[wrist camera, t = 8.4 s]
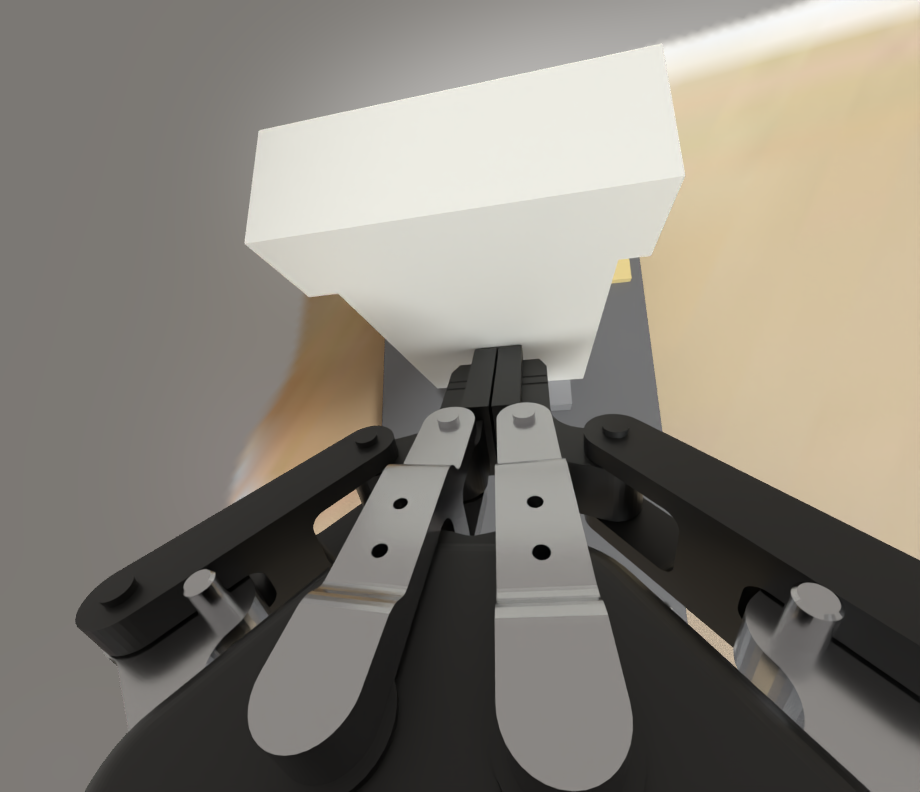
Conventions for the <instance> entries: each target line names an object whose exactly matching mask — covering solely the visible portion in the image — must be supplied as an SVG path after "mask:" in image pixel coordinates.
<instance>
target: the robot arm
mask: <svg viewBox="0 0 920 792" xmlns="http://www.w3.org/2000/svg"><path fill="white" fill-rule="evenodd" d="M491 475H495V510H496V531H494V532H489V533H485V534H481V529H482V524H483V520H484V515H485V510H486V505H487V500H488V492H487V485H488V478H489V476H491ZM355 489H356V490H357V492H358V495H359V497H360V500H361V502H362V504H360V505H359V506H357V507H356V508H355V509H353V510H352V511H350V512H349V513H348V514H346V515H345V516H343V517H342V518H340V519H339V520H338V521H336V522H335V523H333V524H332V525H331V526H329V527H328V528H326V529H325V530H324V531H322V532H321V533H319V534H317V535H315V533H314V530H313V525H314V522H315V520H316V518H317V517H318V515H319V514H320V513H321V512H323V511H324V510H326V509H327V508H328V507H330V506H331V505H333V504H334V503H336V502H337V501H339V500H340V499H342V498H343V497H345V496H346V495H348V494H349V493H351V492H352V491H354V490H355ZM643 495H644V496H645V497H647V498H648V499H650V500H651V501H653V502H654V503H656V504H657V505H659V506H660V507H662V508H663V509H665V510H666V511H667V512H668V513H669V514H670V515H671V516H670V515H669V514H667V513H666V512H664V511H663V510H661V509H660V508H658V507H657V506H655V505H654V504H652V503H651V502H649V501H648V500H646V499H645V498H643ZM580 514H584V517H585V520H586V522H587V524H588V525H589V526H590V527H591V528H592V529H593V530H594V531H595V532H596V533H597V534H599V535H600V536H601V537H602V538H603V539H605V540H606V541H607V542H608V543H609V544H610V545H612V546H613V547H614V548H615V549H616V550H618V551H619V552H620V553H621V554H622V555H624V556H625V557H626V558H627V559H628V560H630V561H631V562H632V563H633V564H634V565H636V566H637V567H638V568H639V569H640V570H641V571H643V572H644V573H645V574H646V575H647V576H649V577H650V578H651V579H652V580H653V581H655V582H656V583H657V584H658V585H659V586H661V587H662V588H663V589H664V590H665V591H667V592H668V593H669V594H670V595H671V596H672V597H674V598H675V599H676V600H677V601H678V602H680V603H681V604H682V605H683V606H684V607H686V608H687V609H688V610H689V611H690V612H692V613H693V614H694V615H695V616H696V617H697V618H699V619H700V620H701V621H702V622H703V623H705V624H706V625H707V626H708V627H709V628H711V629H712V630H713V631H714V632H715V633H717V634H718V635H719V636H720V637H721V638H723V639H724V640H725V641H726V642H727V643H728V644H730V645H731V646H732V647H733V648H734V649H733V651H734V659H735V663H736V666H737V668H738V669H737V668H736V667H734V666H733V665H732V664H731V663H730V662H729V661H728V660H727V659H726V658H725V657H723V656H722V655H721V654H720V653H719V652H718V651H717V650H716V649H715V648H714V647H713V646H711V645H710V644H709V643H708V642H707V641H706V640H705V639H704V638H703V637H702V636H700V635H699V634H698V633H697V632H696V631H695V630H694V629H693V628H692V627H691V626H690V625H688V624H687V623H686V622H685V621H684V620H683V619H682V618H681V617H680V616H679V615H677V614H676V613H675V612H674V611H673V610H672V609H671V608H670V607H669V606H668V605H667V604H665V603H664V602H663V601H662V600H661V599H660V598H659V597H658V596H657V595H656V594H654V593H653V592H652V591H651V590H650V589H649V588H648V587H647V586H646V585H645V584H644V583H642V582H641V581H640V580H639V579H638V578H637V577H636V576H635V575H634V574H633V573H631V572H630V571H629V570H628V569H627V568H626V567H625V566H623V565H622V564H620V563H619V562H618V561H616V560H615V559H614V558H612V557H610V556H608V555H607V554H605V553H603V552H601V551H599V550H597V549H594V548H592V547H590V546H587V542H586V538H585V534H584V530H583V526H582V522H581V518H580ZM75 620H76V625H77V627H78V628H79V629H80V630H81V631H83V632H84V633H85V634H86V635H87V636H88V637H89V638H90V639H92V640H93V641H94V642H95V643H96V644H97V645H98V646H99V647H100V648H101V649H102V650H103V653H104V655H105V656H106V657H107V658H108V659H109V660H111V661H112V662H113V663H114V664H115V665H116V666H117V668H118V674H119V679H120V686H121V692H122V697H123V703H124V709H125V715H126V721H127V727H128V733H127V734H126V735H125V736H124V737H123V739H122V740H121V741H120V742H119V743H118V744H117V745H116V746H115V748H114V749H113V750H112V751H111V753H110V754H109V755H108V757H107V758H106V759H105V761H104V762H103V763H102V765H101V766H100V768H99V769H98V771H97V772H96V774H95V775H94V777H93V779H92V780H91V782H90V783H89V785H88V786H87V788H86V790H85V792H920V560H918V559H916V558H914V557H912V556H910V555H908V554H906V553H904V552H902V551H900V550H898V549H896V548H894V547H892V546H890V545H888V544H886V543H884V542H882V541H880V540H878V539H876V538H874V537H872V536H870V535H868V534H866V533H864V532H862V531H860V530H858V529H856V528H854V527H852V526H850V525H848V524H846V523H844V522H842V521H840V520H838V519H836V518H834V517H832V516H830V515H828V514H826V513H824V512H822V511H820V510H818V509H816V508H814V507H812V506H810V505H808V504H806V503H804V502H802V501H800V500H798V499H796V498H794V497H792V496H790V495H788V494H786V493H784V492H782V491H780V490H778V489H776V488H774V487H772V486H770V485H768V484H766V483H764V482H762V481H760V480H758V479H756V478H754V477H752V476H750V475H748V474H746V473H744V472H742V471H740V470H738V469H736V468H734V467H732V466H730V465H728V464H726V463H724V462H722V461H720V460H718V459H716V458H714V457H712V456H710V455H708V454H706V453H704V452H702V451H700V450H698V449H696V448H694V447H692V446H690V445H688V444H686V443H684V442H682V441H680V440H678V439H676V438H674V437H672V436H670V435H668V434H666V433H664V432H662V431H660V430H658V429H656V428H654V427H652V426H650V425H648V424H646V423H644V422H642V421H640V420H638V419H635V418H633V417H630V416H627V415H622V414H605V415H600V416H597V417H594V418H592V419H591V420H589V421H588V422H587V423H586V424H585V426H584V428H580V427H574V426H570V425H566V424H564V423H562V422H560V421H558V420H557V419H556V418H555V417H554V416H553V415H552V413H551V408H550V397H549V386H548V376H547V366H546V365H545V364H544V363H543V362H542V361H541V360H540V359H529V360H523V351H522V345H518V346H507V347H499V351H498V348H497V347H496V348H485V349H475V351H474V355H473V359H472V363H471V364H469V365H460V366H459V367H458V368H457V369H456V370H455V371H453V372H452V374H451V377H450V380H449V384H448V386H447V391H446V392H445V395H444V398H443V402H442V405H441V408H440V410H437V411H435V412H433V413H432V414H430V415H429V416H428V417H427V418H426V419H425V421H424V422H423V424H422V427H421V429H420V431H419V433H416V434H413V435H410V436H406V437H402V438H398V439H395V437H394V434H393V432H392V430H391V429H389V428H387V427H384V426H370V427H366V428H363V429H360V430H358V431H356V432H354V433H352V434H350V435H349V436H347V437H345V438H344V439H342V440H340V441H339V442H337V443H335V444H333V445H332V446H330V447H328V448H327V449H325V450H323V451H322V452H320V453H318V454H317V455H315V456H313V457H311V458H310V459H308V460H306V461H305V462H303V463H301V464H300V465H298V466H296V467H294V468H293V469H291V470H289V471H288V472H286V473H284V474H283V475H281V476H279V477H278V478H276V479H274V480H272V481H271V482H269V483H267V484H266V485H264V486H262V487H261V488H259V489H257V490H256V491H254V492H252V493H250V494H249V495H247V496H245V497H244V498H242V499H240V500H239V501H237V502H235V503H233V504H232V505H230V506H228V507H227V508H225V509H223V510H222V511H220V512H218V513H217V514H215V515H213V516H211V517H210V518H208V519H206V520H205V521H203V522H201V523H200V524H198V525H196V526H194V527H193V528H191V529H189V530H188V531H186V532H184V533H183V534H181V535H179V536H178V537H176V538H174V539H172V540H171V541H169V542H167V543H166V544H164V545H162V546H161V547H159V548H157V549H155V550H154V551H153V552H150V553H149V554H147V555H145V556H144V557H142V558H141V559H139V560H137V561H135V562H133V563H132V564H130V565H128V566H127V567H125V568H123V569H122V570H120V571H118V572H117V573H115V574H114V575H112V576H110V577H109V578H107V579H106V580H105V581H103V582H102V583H101V584H100V585H99V586H97V587H96V588H95V589H94V590H93V591H92V592H91V593H90V594H89V595H88V596H87V598H86V599H85V600H84V602H83V603H82V604H81V606H80V608H79V610H78V612H77V614H76V619H75Z"/></svg>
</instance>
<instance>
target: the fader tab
mask: <svg viewBox="0 0 920 792" xmlns="http://www.w3.org/2000/svg"><path fill="white" fill-rule="evenodd" d="M684 177H685V172H684V166H683V160H682V154H681V149H680V143H679V137H678V131H677V125H676V119H675V113H674V108H673V102H672V96H671V90H670V84H669V78H668V72H667V67H666V61H665V55H664V49H663V43H662V44H657V45H653V46H648V47H643V48H639V49H634V50H629V51H625V52H620V53H615V54H611V55H606V56H602V57H597V58H592V59H588V60H583V61H578V62H574V63H569V64H564V65H560V66H556V67H551V68H546V69H541V70H536V71H532V72H527V73H523V74H518V75H513V76H509V77H504V78H499V79H495V80H490V81H486V82H481V83H476V84H471V85H467V86H462V87H458V88H453V89H449V90H444V91H439V92H434V93H430V94H425V95H421V96H416V97H411V98H406V99H402V100H397V101H393V102H388V103H383V104H379V105H374V106H369V107H365V108H360V109H355V110H351V111H346V112H342V113H337V114H332V115H327V116H323V117H318V118H313V119H309V120H304V121H300V122H295V123H290V124H286V125H281V126H276V127H272V128H267V129H263V130H259V132H258V140H257V149H256V156H255V165H254V172H253V180H252V188H251V195H250V203H249V211H248V219H247V227H246V235H245V243H244V244H245V245H246V246H248V247H249V248H250V249H251V250H253V251H254V252H255V253H256V254H257V255H259V256H260V257H261V258H262V259H263V260H265V261H266V262H267V263H268V264H269V265H271V266H272V267H273V268H274V269H276V270H277V271H278V272H279V273H280V274H282V275H283V276H284V277H285V278H286V279H288V280H289V281H290V282H291V283H292V284H294V285H295V286H296V287H297V288H299V289H300V290H301V291H302V292H303V293H305V294H306V295H307V296H308V297H314V296H322V295H331V294H339V295H340V296H341V297H342V298H343V299H344V300H345V301H346V302H347V303H348V304H350V305H351V306H352V307H353V308H354V309H355V310H356V311H357V312H358V313H359V314H360V315H361V316H362V317H363V318H364V319H365V320H366V321H367V322H368V323H369V324H370V325H371V326H373V327H374V328H375V329H376V330H377V331H378V332H379V333H380V334H381V335H382V336H383V337H384V338H385V339H386V340H387V341H388V342H389V343H390V344H391V345H392V346H393V347H395V348H396V349H397V350H398V351H399V352H400V353H401V354H402V355H403V356H404V357H405V358H406V359H407V360H408V361H409V362H410V363H411V364H412V365H413V366H414V367H415V368H416V369H418V370H419V371H420V372H421V373H422V374H423V375H424V376H425V377H426V378H427V379H428V380H429V381H430V382H431V383H432V384H433V385H434V386H435V387H436V388H447V386H448V384H449V380H450V377H451V374H452V372H453V371H455V370H456V369H457V368H458V367H459V366H460V365H469V364H471V363H472V359H473V355H474V351H475V349H485V348H496V347H497V348H498V351H499V347H507V346H518V345H522V351H523V360H529V359H540V360H541V361H542V362H543V363H544V364H545V365H546V366H547V376H548V386H549V397H550V408H551V411H559V410H571V406H572V396H571V384H570V379H583V377H584V374H585V371H586V367H587V364H588V360H589V357H590V354H591V350H592V347H593V344H594V340H595V337H596V333H597V330H598V327H599V323H600V320H601V317H602V313H603V310H604V306H605V303H606V300H607V296H608V293H609V290H610V286H611V283H612V279H613V276H614V273H615V269H616V266H617V263H618V260H621V259H629V258H637V257H646V256H651V254H652V252H653V250H654V247H655V245H656V243H657V240H658V238H659V236H660V233H661V231H662V229H663V226H664V224H665V222H666V219H667V217H668V215H669V212H670V210H671V208H672V205H673V203H674V201H675V198H676V196H677V194H678V191H679V189H680V187H681V184H682V182H683V180H684Z"/></svg>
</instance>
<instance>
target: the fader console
mask: <svg viewBox="0 0 920 792" xmlns="http://www.w3.org/2000/svg"><path fill="white" fill-rule="evenodd" d="M570 384H571V396H572V406H571V410H559V411H551V413H552V415H553V416H554V417H555V418H556V419H557V420H558V421H560V422H562V423H564V424H566V425H570V426H574V427H580V428H584V426H585V424H586V423H587V422H588V421H589V420H591V419H592V418H594V417H597V416H600V415H605V414H622V415H627V416H630V417H633V418H635V419H638V420H640V421H642V422H644V423H646V424H648V425H650V426H652V427H654V428H656V429H658V430H660V431H662V425H661V418H660V410H659V403H658V395H657V387H656V380H655V372H654V365H653V357H652V350H651V342H650V334H649V327H648V319H647V312H646V304H645V296H644V289H643V281H642V274H641V266H640V259H639V257H637V258H629V259H621V260H618V263H617V266H616V269H615V273H614V276H613V279H612V283H611V286H610V290H609V293H608V296H607V300H606V303H605V306H604V310H603V313H602V317H601V320H600V323H599V327H598V330H597V333H596V337H595V340H594V344H593V347H592V350H591V354H590V357H589V360H588V364H587V367H586V371H585V374H584V377H583V379H570ZM446 391H447V388H436V387H435V386H434V385H433V384H432V383H431V382H430V381H429V380H428V379H427V378H426V377H425V376H424V375H423V374H422V373H421V372H420V371H419V370H418V369H416V368H415V367H414V366H413V365H412V364H411V363H410V362H409V361H408V360H407V359H406V358H405V357H404V356H403V355H402V354H401V353H400V352H399V351H398V350H397V349H396V348H395V347H393V346H392V345H391V344H390V343H389V342H388V341H387V340H386V339H385V352H384V383H383V414H382V426H384V427H387V428H389V429H391V430H392V432H393V434H394V437H395V439H398V438H402V437H406V436H410V435H413V434H416V433H419V431H420V429H421V427H422V424H423V422H424V421H425V419H426V418H427V417H428V416H429V415H430V414H432V413H433V412H435V411H437V410H440V408H441V405H442V402H443V398H444V395H445V392H446ZM487 492H488V500H487V505H486V510H485V515H484V520H483V524H482V529H481V534H485V533H489V532H494V531H496V510H495V475H491V476H489V478H488V485H487ZM643 498H645V499H646V500H648V501H649V502H651V503H652V504H654V505H655V506H657V507H658V508H660V509H661V510H663V511H664V512H666V513H667V514H669V513H668V512H667V511H666V510H665V509H663V508H662V507H660V506H659V505H657V504H656V503H654V502H653V501H651V500H650V499H648V498H647V497H645V496H644V495H643ZM669 515H670V514H669ZM670 516H671V515H670ZM580 518H581V522H582V526H583V530H584V534H585V538H586V542H587V546H590V547H592V548H594V549H597V550H599V551H601V552H603V553H605V554H607V555H608V556H610V557H612V558H614V559H615V560H616V561H618V562H619V563H620V564H622V565H623V566H625V567H626V568H627V569H628V570H629V571H630V572H631V573H633V574H634V575H635V576H636V577H637V578H638V579H639V580H640V581H641V582H642V583H644V584H645V585H646V586H647V587H648V588H649V589H650V590H651V591H652V592H653V593H654V594H656V595H657V596H658V597H659V598H660V599H661V600H662V601H663V602H664V603H665V604H667V605H668V606H669V607H670V608H671V609H672V610H673V611H674V612H675V613H676V614H677V615H679V616H680V617H681V618H682V619H683V620H684V621H685V622H686V623H687V615H686V607H684V606H683V605H682V604H681V603H680V602H678V601H677V600H676V599H675V598H674V597H672V596H671V595H670V594H669V593H668V592H667V591H665V590H664V589H663V588H662V587H661V586H659V585H658V584H657V583H656V582H655V581H653V580H652V579H651V578H650V577H649V576H647V575H646V574H645V573H644V572H643V571H641V570H640V569H639V568H638V567H637V566H636V565H634V564H633V563H632V562H631V561H630V560H628V559H627V558H626V557H625V556H624V555H622V554H621V553H620V552H619V551H618V550H616V549H615V548H614V547H613V546H612V545H610V544H609V543H608V542H607V541H606V540H605V539H603V538H602V537H601V536H600V535H599V534H597V533H596V532H595V531H594V530H593V529H592V528H591V527H590V526H589V525H588V524H587V522H586V520H585V517H584V514H580ZM687 624H688V623H687Z"/></svg>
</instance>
